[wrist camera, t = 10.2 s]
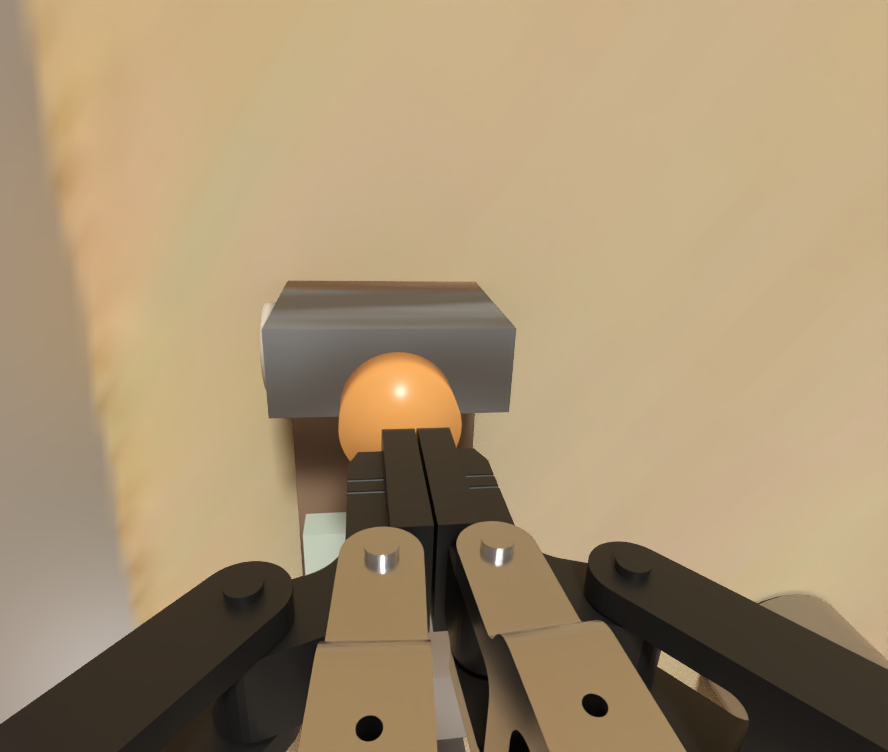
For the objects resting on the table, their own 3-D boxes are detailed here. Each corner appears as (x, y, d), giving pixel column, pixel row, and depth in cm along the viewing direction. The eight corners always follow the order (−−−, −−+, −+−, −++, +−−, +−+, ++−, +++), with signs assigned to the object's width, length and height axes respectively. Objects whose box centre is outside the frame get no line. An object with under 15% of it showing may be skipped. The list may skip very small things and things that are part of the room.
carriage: (306, 513, 25) (284, 656, 18) (465, 506, 26) (504, 638, 19) (312, 620, 27) (296, 785, 20) (459, 609, 28) (492, 762, 21)
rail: (280, 278, 24) (250, 326, 17) (475, 279, 25) (516, 325, 18) (311, 730, 33) (300, 868, 27) (450, 716, 35) (471, 845, 28)
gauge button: (338, 352, 15) (336, 372, 14) (455, 351, 16) (464, 370, 14) (341, 456, 16) (339, 484, 15) (450, 452, 17) (458, 479, 16)
